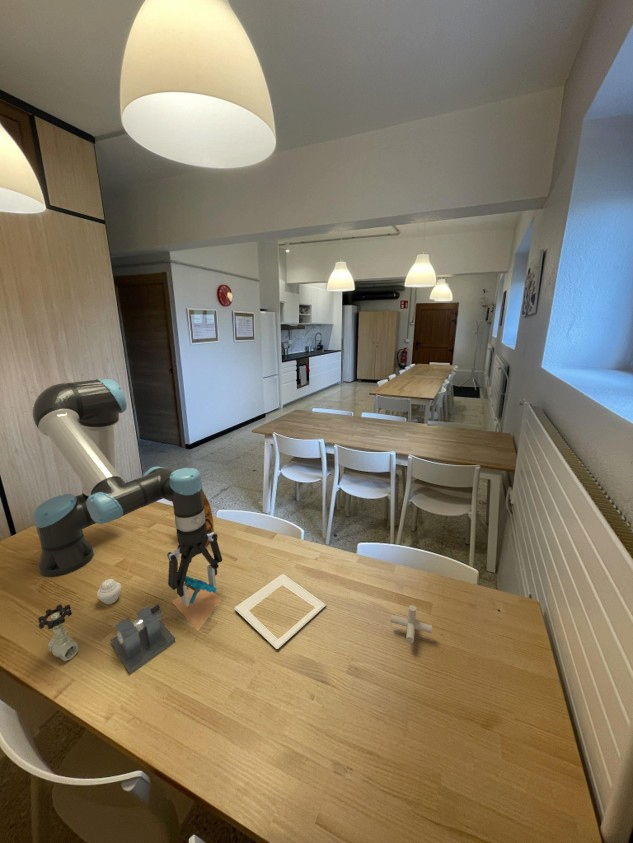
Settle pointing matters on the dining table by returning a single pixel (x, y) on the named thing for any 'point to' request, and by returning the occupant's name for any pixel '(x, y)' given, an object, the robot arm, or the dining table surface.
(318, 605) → the white square picture frame
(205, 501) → the coffee package
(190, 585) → the gear
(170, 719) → the dining table surface
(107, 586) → the white rounded lump
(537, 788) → the dining table surface
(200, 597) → the pad
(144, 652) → the shaft stand
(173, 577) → the robot arm
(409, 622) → the pipe connector
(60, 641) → the valve
